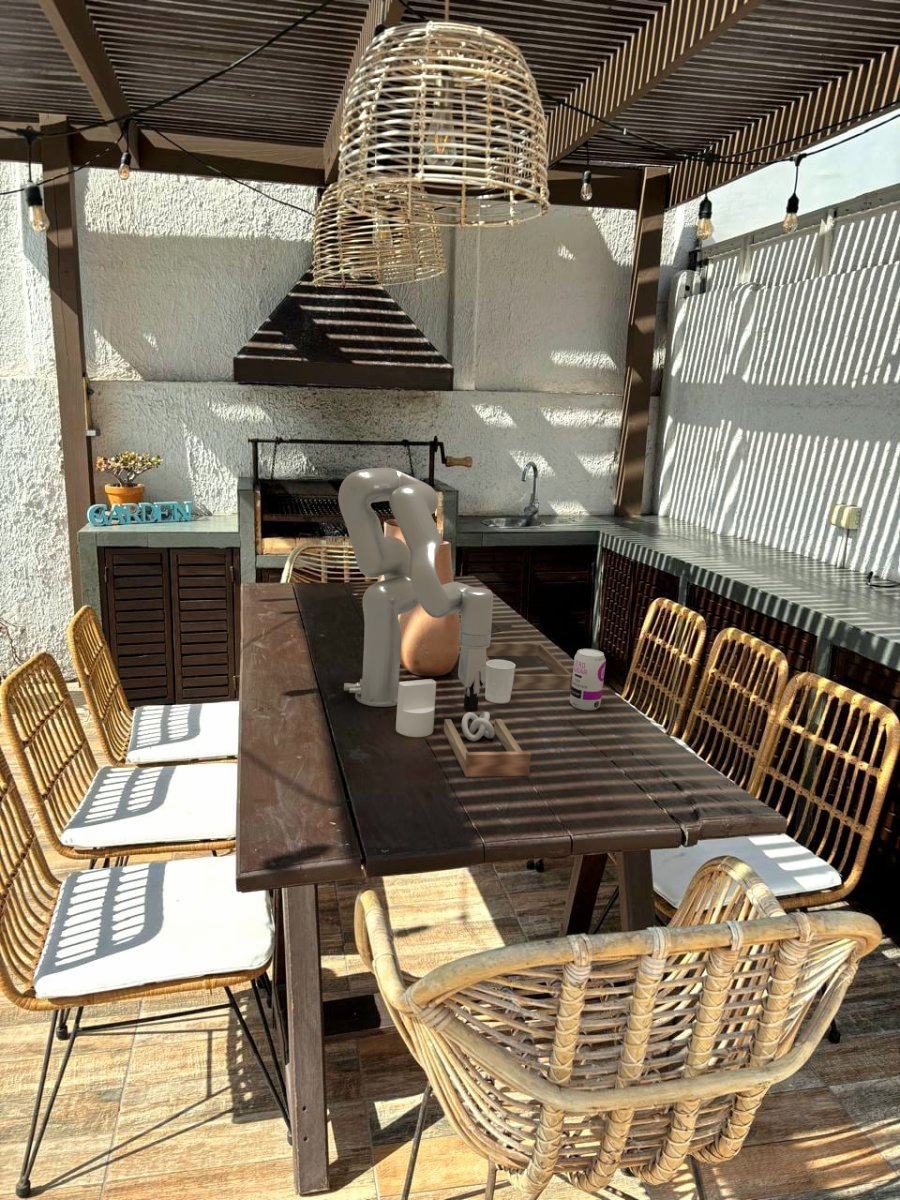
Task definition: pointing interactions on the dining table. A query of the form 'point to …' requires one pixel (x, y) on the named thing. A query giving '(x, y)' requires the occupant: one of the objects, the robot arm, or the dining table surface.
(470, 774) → the guide channel
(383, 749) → the dining table surface
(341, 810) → the dining table surface
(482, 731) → the knot
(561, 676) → the serving tray rim
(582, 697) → the supplement can
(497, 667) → the white cup
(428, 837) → the dining table surface
